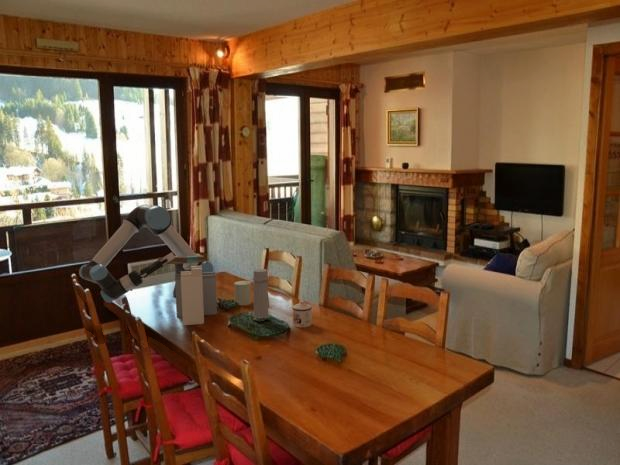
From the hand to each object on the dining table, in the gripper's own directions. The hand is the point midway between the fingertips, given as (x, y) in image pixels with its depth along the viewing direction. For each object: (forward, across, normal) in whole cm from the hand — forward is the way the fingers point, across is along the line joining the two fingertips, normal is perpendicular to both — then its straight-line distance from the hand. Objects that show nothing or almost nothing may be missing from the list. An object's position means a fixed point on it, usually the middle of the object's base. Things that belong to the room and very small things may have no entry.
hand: (173, 255), depth 268 cm
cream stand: (-8, +12, -31) cm, 34 cm away
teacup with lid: (+36, +32, -57) cm, 75 cm away
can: (+15, -14, -45) cm, 49 cm away
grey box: (-7, 0, -32) cm, 33 cm away
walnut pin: (+1, 0, -6) cm, 6 cm away
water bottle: (+20, +18, -48) cm, 55 cm away
